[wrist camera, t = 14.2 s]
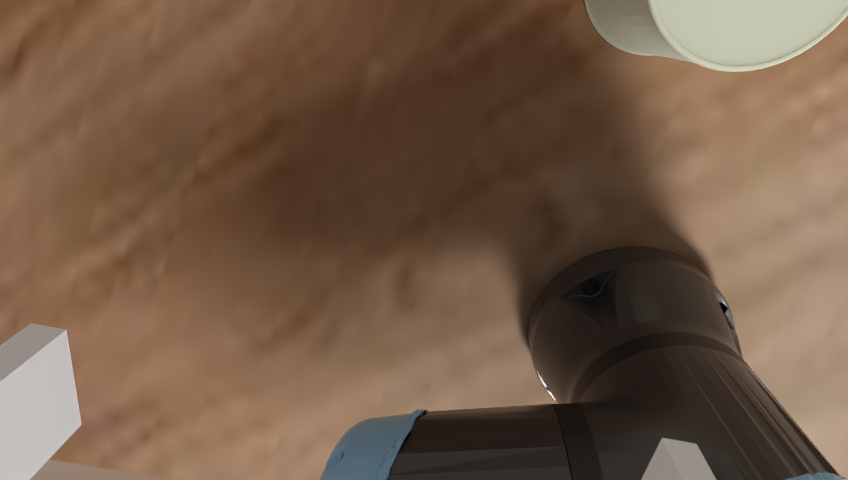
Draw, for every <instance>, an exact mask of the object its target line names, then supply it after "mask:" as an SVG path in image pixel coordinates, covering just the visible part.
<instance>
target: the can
mask: <svg viewBox="0 0 848 480" xmlns="http://www.w3.org/2000/svg"><path fill="white" fill-rule="evenodd" d="M584 1H585V6H586V9H587V12H588V15H589V17H590V20H591V22H592V24H593V25H594V27H595V28H596V30H597V31H598V32H599V34H600V35H601V36H602V37H603V38H604V39H605V40H606V41H607V42H609V43H610V44H611V45H613V46H615V47H616V48H618V49H620V50H622V51H625V52H628V53H631V54H636V55H647V56H649V55H658V56H663V57H669V58H674V59H679V60H684V61H688V62H693V63H696V64H698V65H701V66H703V67H706V68H710V69H714V70H720V71H730V72H740V71H751V70H757V69H762V68H766V67H769V66H772V65H776V64H779V63H782V62H784V61H786V60H789V59H791V58H793V57H795V56H797V55H799V54H800V53H802V52H804V51H805V50H807V49H809V48H810V47H812V46H813V45H815V44H816V43H817V42H819V41H820V40H822V39H823V38H824V37H825V36H826V35H828V34H829V33H830V32H831V31H832V30H834V29H835V28H836V27H837V26H838V25H839V24H840V23H841V22H842V21H843V20H844V19H845V18H846V16H847V15H848V0H584Z"/></svg>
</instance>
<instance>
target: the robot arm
mask: <svg viewBox="0 0 848 480" xmlns="http://www.w3.org/2000/svg"><path fill="white" fill-rule="evenodd" d="M528 340H529V347H530V352H531V356H532V361H533V365H534V368H535V371H536V373H537V376H538V378H539V379H540V381H541V383H542V385H543V386H544V387H545V389H546V390H547V391H548V392H549V394H550V395H551V396H552V397H553V398H554V399H555V400H556V401H557V402H558V404H540V405H525V406H509V407H494V408H479V409H463V410H448V411H432V412H428V410H418V409H417V410H416V411H414V412H413V413H412V414H404V415H395V416H387V417H379V418H371V419H367V420H364V421H361V422H359V423H357V424H356V425H354V426H353V427H352V428H350V429H349V430H348V431H347V432H346V433H345V434H344V435H343V437H342V438H341V439H340V441H339V442H338V443H337V445H336V446H335V448H334V450H333V452H332V453H331V456H330V458H329V460H328V462H327V465H326V467H325V470H324V472H323V473H322V476H321V478H320V480H845V478H844V477H841V476H840V475H839V474H838V472H837V471H836V470H835V469H834V468H833V467H832V465H831V464H830V463H829V462H828V461H827V459H826V458H825V457H824V456H823V455H822V453H821V452H820V451H819V450H818V449H817V447H816V446H815V445H814V444H813V443H812V441H811V440H810V439H809V438H808V437H807V435H806V434H805V433H804V432H803V431H802V429H801V428H800V427H799V426H798V425H797V423H796V422H795V421H794V420H793V419H792V417H791V416H790V415H789V414H788V413H787V411H786V410H785V409H784V408H783V407H782V405H781V404H780V403H779V402H778V401H777V399H776V398H775V397H774V396H773V395H772V393H771V392H770V391H769V390H768V389H767V387H766V386H765V385H764V384H763V383H762V381H761V380H760V379H759V378H758V377H757V375H756V374H755V373H754V372H753V371H752V369H751V368H750V367H749V366H748V365H747V363H746V362H745V361H744V360H743V356H742V352H741V349H740V345H739V341H738V337H737V334H736V332H735V325H734V321H733V317H732V314H731V310H730V308H729V306H728V304H727V302H726V300H725V298H724V297H723V295H722V294H721V292H720V291H719V290H718V288H717V287H716V286H715V285H714V284H713V283H712V282H711V281H710V280H709V278H708V277H707V276H706V275H705V274H704V273H703V272H702V271H701V270H700V269H698V268H697V267H696V266H695V265H693V264H692V263H691V262H689V261H687V260H686V259H684V258H682V257H680V256H678V255H675V254H672V253H670V252H666V251H663V250H658V249H653V248H644V247H627V248H618V249H612V250H608V251H604V252H600V253H597V254H594V255H591V256H589V257H587V258H584V259H582V260H580V261H578V262H576V263H575V264H573V265H571V266H570V267H568V268H567V269H565V270H564V271H563V272H561V273H560V274H559V275H558V276H557V277H556V278H555V279H553V280H552V281H551V282H550V284H549V285H548V286H547V287H546V288H545V290H544V291H543V292H542V294H541V295H540V297H539V298H538V300H537V302H536V304H535V306H534V308H533V311H532V314H531V317H530V321H529V328H528ZM80 425H81V418H80V412H79V405H78V399H77V393H76V387H75V381H74V374H73V368H72V362H71V356H70V350H69V343H68V337H67V331H66V330H65V329H60V328H54V327H48V326H43V325H37V324H32V323H31V324H30V325H28V326H27V327H26V328H24V329H23V330H21V331H20V332H19V333H17V334H16V335H14V336H13V337H11V338H10V339H9V340H7V341H6V342H4V343H3V344H2V345H0V480H30V479H31V478H32V477H33V476H34V474H36V472H37V471H38V470H39V469H40V468H41V467H42V466H43V465H44V464H45V463H46V462H47V461H48V460H49V459H50V457H51V456H52V455H53V454H54V453H55V452H56V451H57V450H58V449H59V448H60V447H61V446H62V445H63V444H64V443H65V441H66V440H67V439H68V438H69V437H70V436H71V435H72V434H73V433H74V432H75V431H76V430H77V429H78V428H79V427H80Z"/></svg>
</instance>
